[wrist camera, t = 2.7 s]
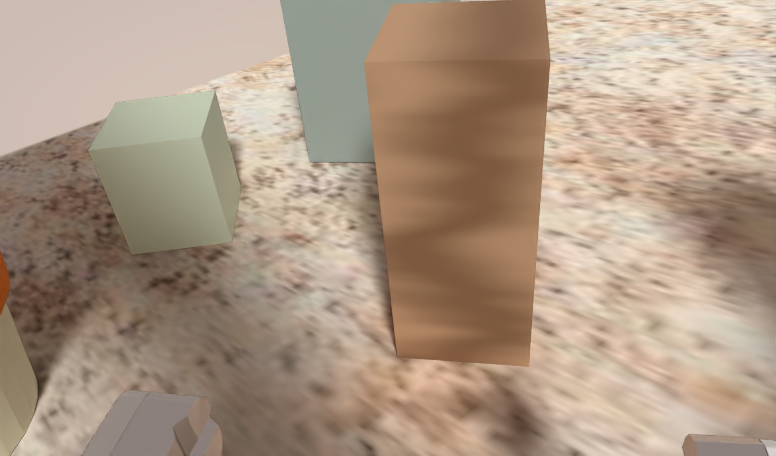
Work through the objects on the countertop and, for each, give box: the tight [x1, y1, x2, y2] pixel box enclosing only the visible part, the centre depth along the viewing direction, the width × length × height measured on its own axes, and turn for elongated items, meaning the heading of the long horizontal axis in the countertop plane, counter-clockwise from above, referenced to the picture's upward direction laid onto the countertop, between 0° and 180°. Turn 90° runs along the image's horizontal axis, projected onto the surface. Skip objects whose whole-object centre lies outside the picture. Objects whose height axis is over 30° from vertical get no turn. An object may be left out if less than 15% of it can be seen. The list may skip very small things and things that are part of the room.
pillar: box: [364, 0, 550, 366], centre depth 23 cm, size 5×5×12 cm
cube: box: [88, 91, 241, 255], centre depth 32 cm, size 5×5×6 cm
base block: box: [280, 0, 460, 163], centre depth 38 cm, size 8×12×10 cm, turn 170°
